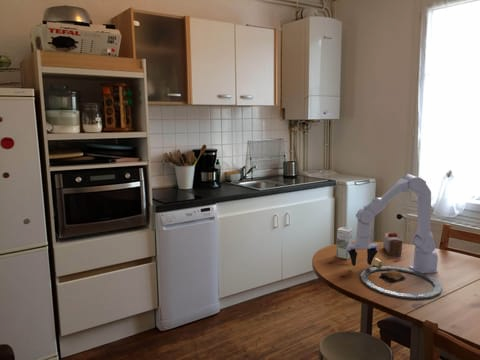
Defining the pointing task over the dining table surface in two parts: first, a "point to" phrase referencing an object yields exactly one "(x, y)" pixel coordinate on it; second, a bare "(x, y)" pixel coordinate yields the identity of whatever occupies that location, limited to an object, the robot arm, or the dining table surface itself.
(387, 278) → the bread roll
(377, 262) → the turntable ring
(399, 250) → the food item
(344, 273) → the dining table surface
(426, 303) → the dining table surface
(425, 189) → the robot arm
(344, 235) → the syrup box
